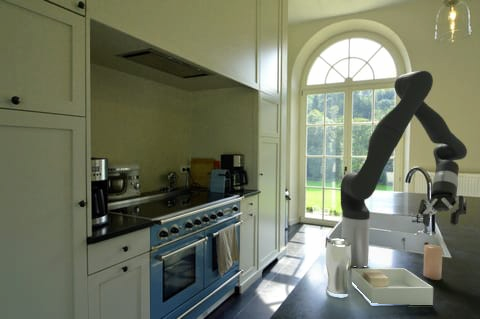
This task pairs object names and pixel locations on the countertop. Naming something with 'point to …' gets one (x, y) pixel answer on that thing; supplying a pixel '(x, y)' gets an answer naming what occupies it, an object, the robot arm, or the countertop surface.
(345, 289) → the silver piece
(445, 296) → the countertop surface
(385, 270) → the grey tote
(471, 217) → the countertop surface
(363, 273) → the beech cube
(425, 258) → the terracotta cylinder
